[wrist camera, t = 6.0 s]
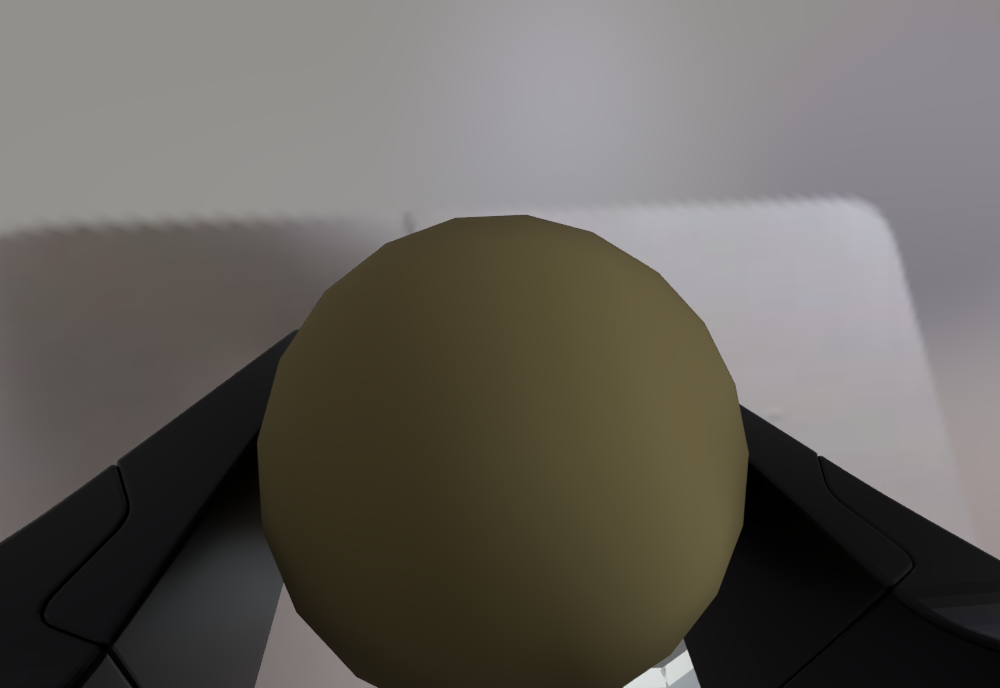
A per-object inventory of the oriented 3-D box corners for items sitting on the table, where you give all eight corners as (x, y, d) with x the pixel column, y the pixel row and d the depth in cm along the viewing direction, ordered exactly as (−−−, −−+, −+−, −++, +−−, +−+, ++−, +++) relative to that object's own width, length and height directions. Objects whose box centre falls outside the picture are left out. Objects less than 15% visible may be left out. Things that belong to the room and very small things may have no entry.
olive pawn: (303, 499, 14) (-61, 770, 3) (385, 304, 15) (338, 2, 4) (504, 565, 14) (791, 974, 4) (565, 373, 16) (908, 264, 5)
